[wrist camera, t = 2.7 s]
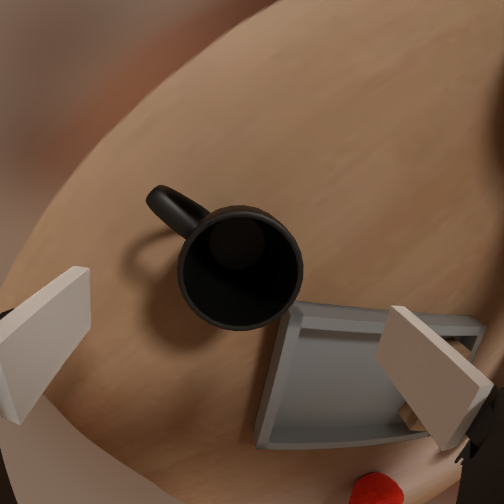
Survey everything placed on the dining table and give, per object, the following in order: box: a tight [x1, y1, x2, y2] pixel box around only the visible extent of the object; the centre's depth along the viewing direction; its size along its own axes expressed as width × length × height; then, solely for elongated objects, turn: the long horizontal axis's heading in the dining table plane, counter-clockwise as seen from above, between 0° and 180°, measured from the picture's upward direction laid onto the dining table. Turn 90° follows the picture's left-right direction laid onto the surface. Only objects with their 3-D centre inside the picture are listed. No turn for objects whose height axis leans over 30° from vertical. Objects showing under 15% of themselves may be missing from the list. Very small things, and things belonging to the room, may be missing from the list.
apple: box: [349, 472, 404, 504], centre depth 37 cm, size 9×9×8 cm
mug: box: [146, 185, 303, 331], centre depth 25 cm, size 8×12×10 cm
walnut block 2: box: [444, 337, 471, 360], centre depth 32 cm, size 4×4×4 cm
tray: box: [254, 301, 487, 450], centre depth 33 cm, size 18×26×4 cm
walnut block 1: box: [398, 401, 428, 432], centre depth 34 cm, size 4×4×4 cm
